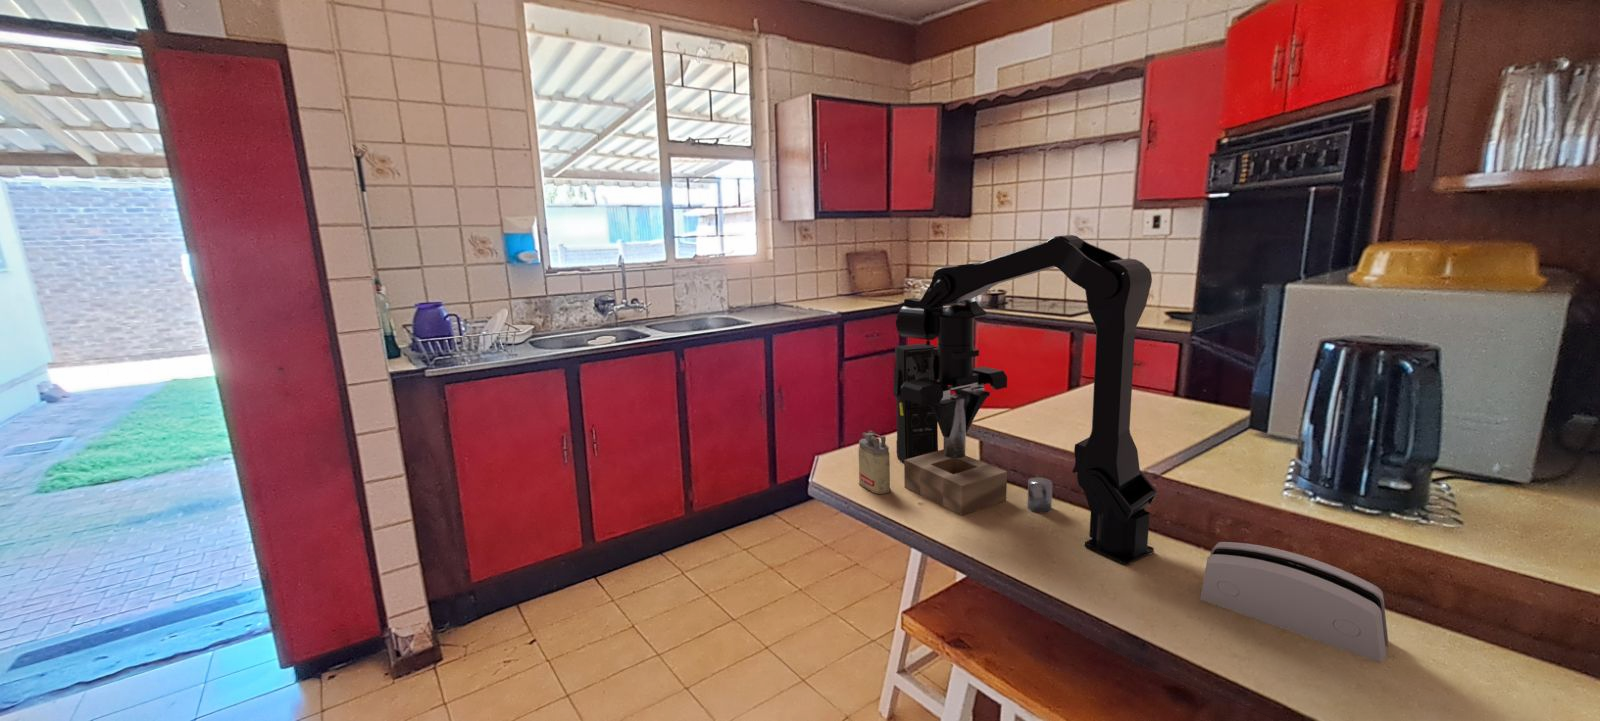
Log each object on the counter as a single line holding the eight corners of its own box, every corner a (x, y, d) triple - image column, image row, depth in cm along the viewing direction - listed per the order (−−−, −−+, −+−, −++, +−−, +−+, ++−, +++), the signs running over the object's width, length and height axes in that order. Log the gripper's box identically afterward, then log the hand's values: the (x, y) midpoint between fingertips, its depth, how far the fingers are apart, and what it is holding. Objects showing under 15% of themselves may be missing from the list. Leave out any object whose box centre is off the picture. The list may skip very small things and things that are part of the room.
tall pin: (970, 455, 107) (970, 397, 105) (954, 459, 105) (954, 401, 103) (954, 449, 110) (955, 393, 108) (938, 453, 108) (939, 396, 106)
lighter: (855, 482, 115) (853, 429, 113) (872, 478, 117) (871, 426, 115) (877, 496, 109) (877, 440, 107) (895, 491, 111) (895, 436, 109)
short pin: (1056, 509, 101) (1057, 482, 100) (1040, 515, 100) (1042, 488, 99) (1037, 501, 104) (1038, 475, 103) (1022, 506, 103) (1023, 480, 102)
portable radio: (902, 467, 121) (901, 338, 116) (890, 457, 127) (888, 333, 122) (940, 462, 123) (941, 335, 118) (926, 452, 129) (926, 330, 123)
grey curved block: (1391, 641, 68) (1400, 573, 63) (1383, 675, 65) (1392, 606, 61) (1210, 581, 80) (1209, 521, 76) (1198, 608, 77) (1195, 547, 73)
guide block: (1006, 500, 105) (1007, 471, 104) (961, 515, 100) (961, 485, 99) (947, 474, 117) (947, 448, 116) (904, 486, 112) (904, 459, 111)
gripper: (962, 330, 115) (961, 414, 118) (879, 343, 106) (880, 433, 109) (1010, 338, 105) (1008, 428, 108) (923, 353, 96) (924, 451, 99)
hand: (954, 434), depth 107 cm, fingers closed on tall pin, 4 cm apart
